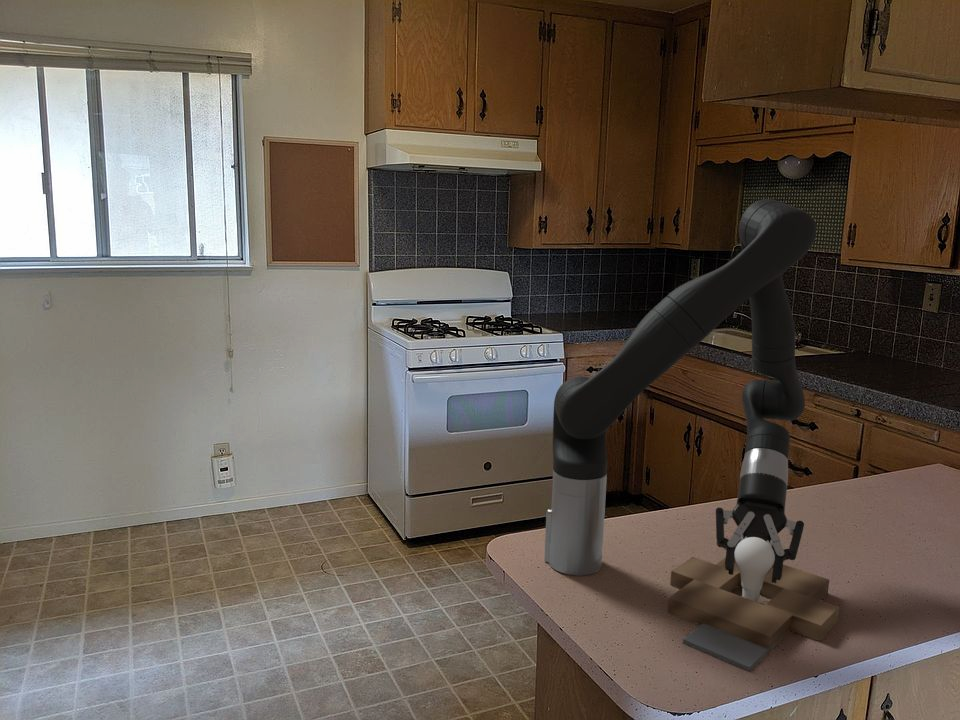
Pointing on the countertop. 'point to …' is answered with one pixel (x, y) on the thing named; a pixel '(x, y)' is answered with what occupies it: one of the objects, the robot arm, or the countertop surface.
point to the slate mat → (726, 646)
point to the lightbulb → (753, 565)
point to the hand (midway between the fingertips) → (752, 576)
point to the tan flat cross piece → (752, 602)
